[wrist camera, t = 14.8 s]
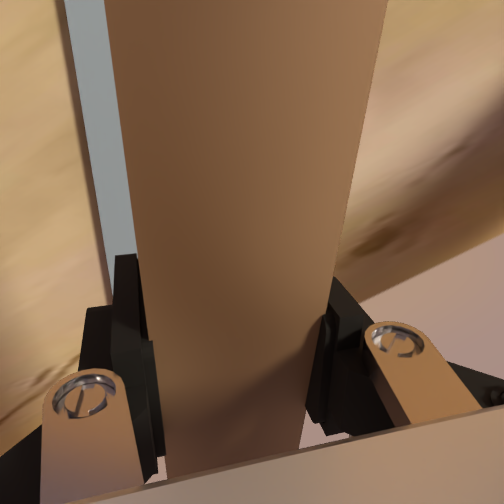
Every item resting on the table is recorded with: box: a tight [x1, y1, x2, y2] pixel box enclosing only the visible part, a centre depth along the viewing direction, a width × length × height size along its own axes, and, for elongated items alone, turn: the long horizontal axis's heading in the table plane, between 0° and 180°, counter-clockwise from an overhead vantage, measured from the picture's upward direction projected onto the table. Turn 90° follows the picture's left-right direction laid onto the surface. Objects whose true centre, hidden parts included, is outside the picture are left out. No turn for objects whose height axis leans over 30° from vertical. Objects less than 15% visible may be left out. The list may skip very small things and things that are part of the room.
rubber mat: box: [64, 0, 138, 295], centre depth 26 cm, size 9×24×1 cm, turn 0°
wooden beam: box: [104, 0, 388, 479], centre depth 11 cm, size 3×22×4 cm, turn 0°
